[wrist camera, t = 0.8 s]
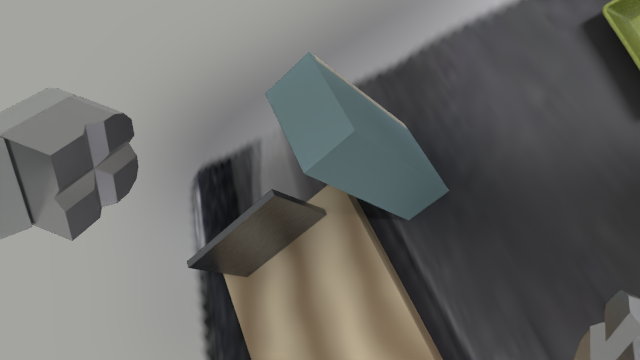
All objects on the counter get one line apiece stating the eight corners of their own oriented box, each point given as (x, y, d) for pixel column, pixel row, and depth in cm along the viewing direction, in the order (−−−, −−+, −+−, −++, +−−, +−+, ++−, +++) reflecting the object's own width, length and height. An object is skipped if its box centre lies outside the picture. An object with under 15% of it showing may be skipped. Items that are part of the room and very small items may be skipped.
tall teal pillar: (406, 125, 43) (308, 50, 33) (449, 190, 40) (355, 129, 29) (369, 155, 45) (264, 93, 34) (408, 220, 41) (303, 174, 30)
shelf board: (347, 181, 45) (337, 176, 44) (467, 405, 35) (459, 407, 34) (233, 272, 50) (222, 270, 49) (308, 492, 40) (296, 497, 39)
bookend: (317, 194, 45) (264, 173, 40) (327, 214, 44) (274, 195, 38) (240, 257, 48) (182, 245, 43) (247, 277, 47) (188, 267, 42)
